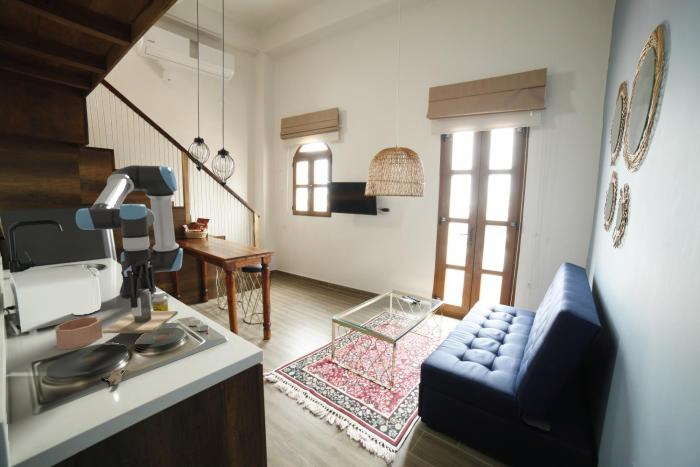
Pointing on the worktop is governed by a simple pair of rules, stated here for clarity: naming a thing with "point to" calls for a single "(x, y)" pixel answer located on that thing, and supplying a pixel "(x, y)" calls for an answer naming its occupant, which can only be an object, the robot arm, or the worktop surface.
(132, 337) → the rubber mat
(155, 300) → the supplement bottle
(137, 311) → the robot arm
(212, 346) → the worktop surface
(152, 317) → the oak lid
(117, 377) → the jawbone
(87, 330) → the terracotta bowl
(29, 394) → the worktop surface
